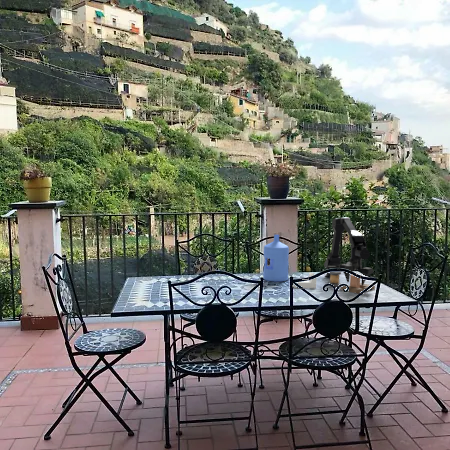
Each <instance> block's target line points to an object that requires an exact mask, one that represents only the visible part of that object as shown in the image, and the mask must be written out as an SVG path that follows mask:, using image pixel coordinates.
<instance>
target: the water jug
mask: <svg viewBox="0 0 450 450" xmlns="http://www.w3.org/2000/svg"><path fill="white" fill-rule="evenodd" d="M273 236H274V237H273V241H271V242H270V243H269V242H268V243H267V244H265V245H264V246H263V257H264V261H263V262H264V267H263V274H262V278H263V280H265V281H267V282H275V283H278V282H280V283H281V282H287V281H288V279H289V266H290V265H289V264H290V263H289V257H290V255H289V253H290V249H289V246H288V245H286V244H285V243H284V242H281V241H280V234H273ZM268 259H269V265H268Z"/></svg>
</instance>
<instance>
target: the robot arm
mask: <svg viewBox="0 0 450 450" xmlns="http://www.w3.org/2000/svg"><path fill="white" fill-rule="evenodd" d="M331 225H332V226H331V227H332V230H333V237H332V242H331V250H330V252H328V253H329V254H328V255H327V257H326V260H325V261H324V264H323V265H324V266H323V268H325V269H329V268H337V269H339V268H345V269H349V270H351V271H350V272H354V271H357V272H361V274H363V275H365V276H368V277H369V276H370V275H371V274H373V273H374V269H373V268H372V267H367V266H366V267H363V265H362V261H365V260H368V259H369V258H370V255H371V254H370V251H369V250H368V249H367V248H368V246H367V241H366V239H365V237H364V235H363V234H362V233H361V232H359V231H358V230H357V229H356V227H355V226H354V224H353V223H352V221H351V218H350V217H340V218H339V217H338V218H337V217H336V218H334V219H332V221H331ZM344 231H346V232H347V235H348V241H349V243H350V246H349V248H350V249H351V250H350V258H349V260H348V261H347V262H346V263H342V264H341V262H342V261H341V260H342V258H341V256H340V254H339V253H340V247H341V240H342V235H343V232H344ZM342 273H343V274H344V277H345V279H346V282H347V283H350V275H351V273H350V274H349V273H346V272H342ZM325 277H326V278H329V277H330V274H329V273H327V274H326V273H325V275H324V278H325ZM366 280H367V279H366ZM366 280H363V279H362V278H361V283H362V285H363V284H365V282H366Z"/></svg>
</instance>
